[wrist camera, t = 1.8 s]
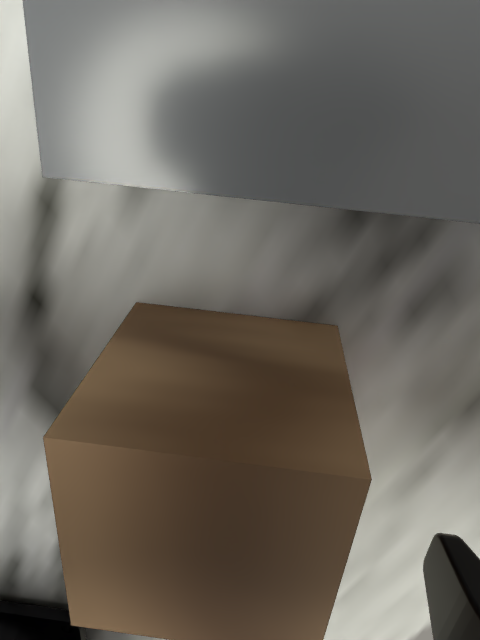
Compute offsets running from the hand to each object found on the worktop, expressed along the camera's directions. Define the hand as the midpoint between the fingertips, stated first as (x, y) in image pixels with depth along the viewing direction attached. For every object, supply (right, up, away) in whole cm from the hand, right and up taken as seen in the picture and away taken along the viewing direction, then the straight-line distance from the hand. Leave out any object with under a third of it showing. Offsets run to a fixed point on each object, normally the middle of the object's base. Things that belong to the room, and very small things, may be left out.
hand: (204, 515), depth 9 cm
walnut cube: (0, +2, +3) cm, 4 cm away
